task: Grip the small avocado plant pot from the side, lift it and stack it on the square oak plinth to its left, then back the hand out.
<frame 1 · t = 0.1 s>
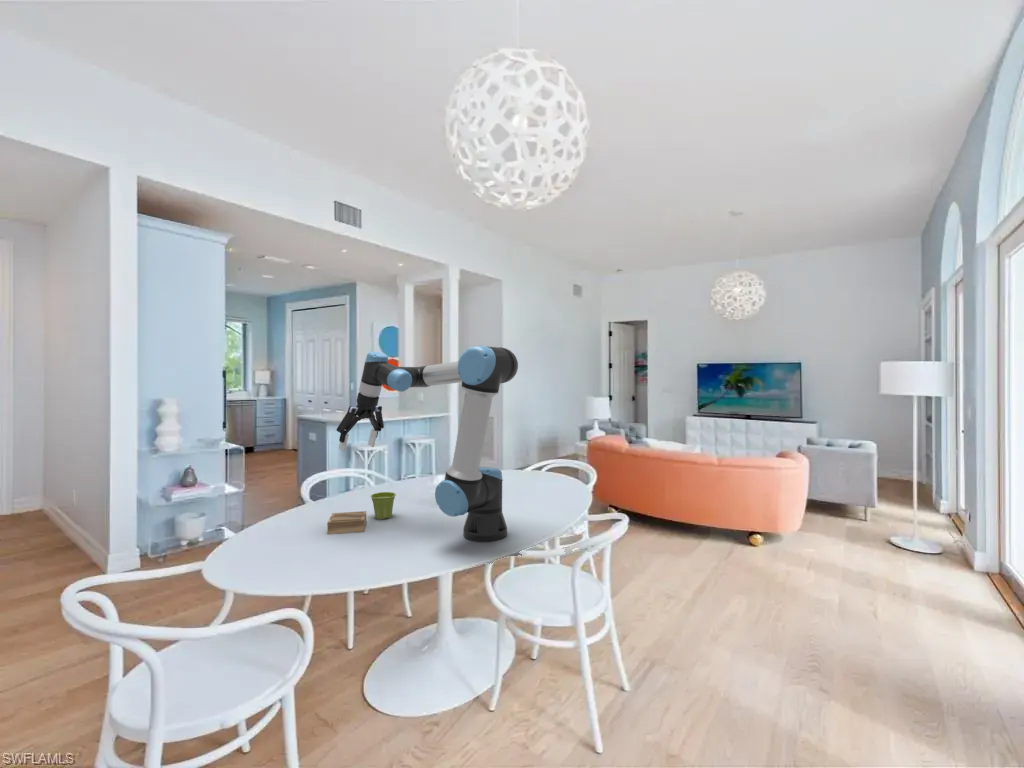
hand: (356, 447, 186), 28 cm above the table, tool tilted 20°, fingers open, 13 cm apart
oak plinth: (347, 527, 180), on the table
plant pot: (383, 517, 193), on the table
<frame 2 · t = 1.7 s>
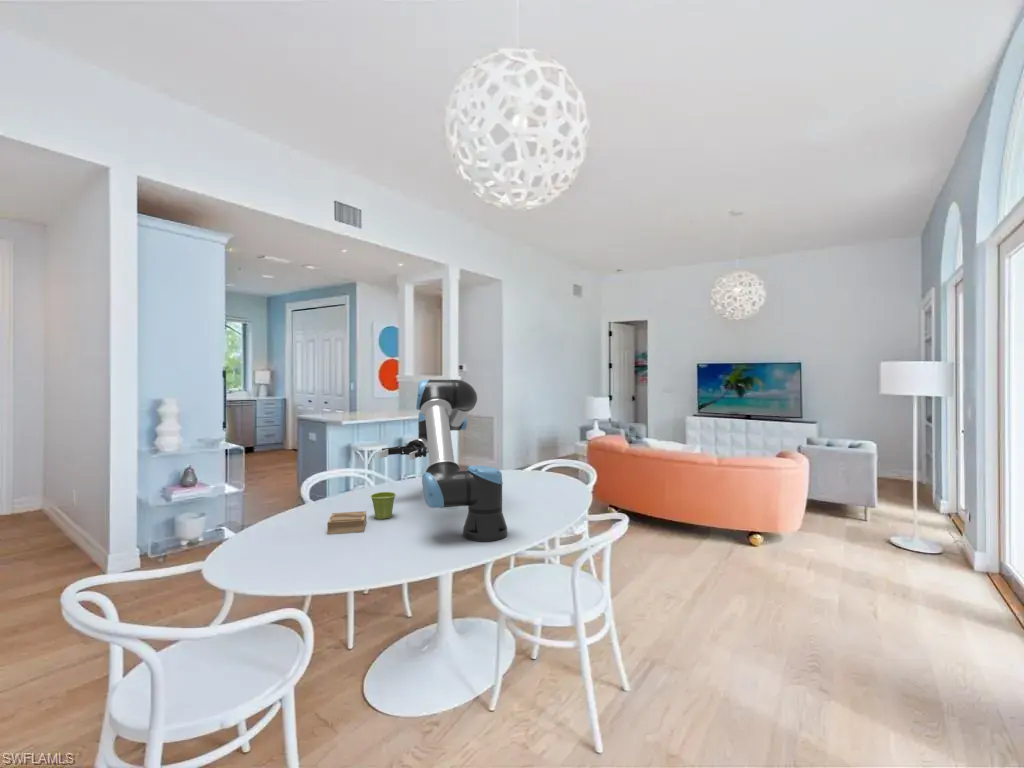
hand: (394, 455, 202), 22 cm above the table, tool horizontal, fingers open, 13 cm apart
nothing on the table moved.
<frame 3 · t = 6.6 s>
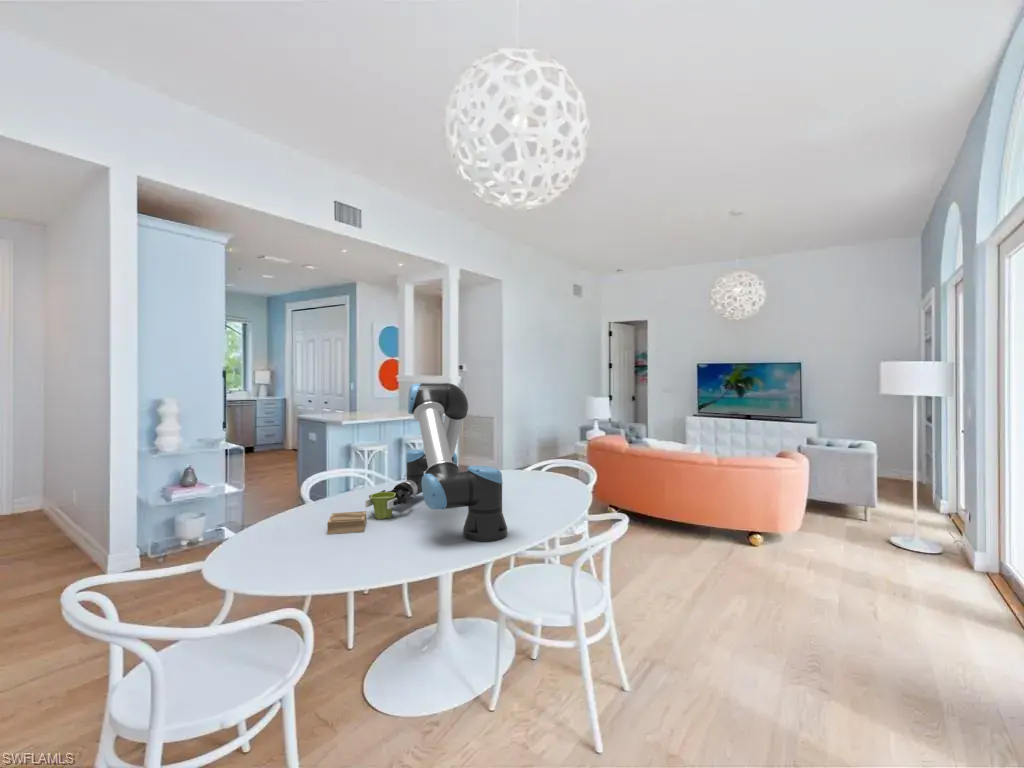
hand: (377, 504, 189), 6 cm above the table, tool horizontal, fingers closed on plant pot, 8 cm apart
plant pot: (383, 517, 193), on the table, touching gripper
when the fingers open (11 cm above the table, at t = 11.1 s): plant pot drops 1 cm, resting on oak plinth.
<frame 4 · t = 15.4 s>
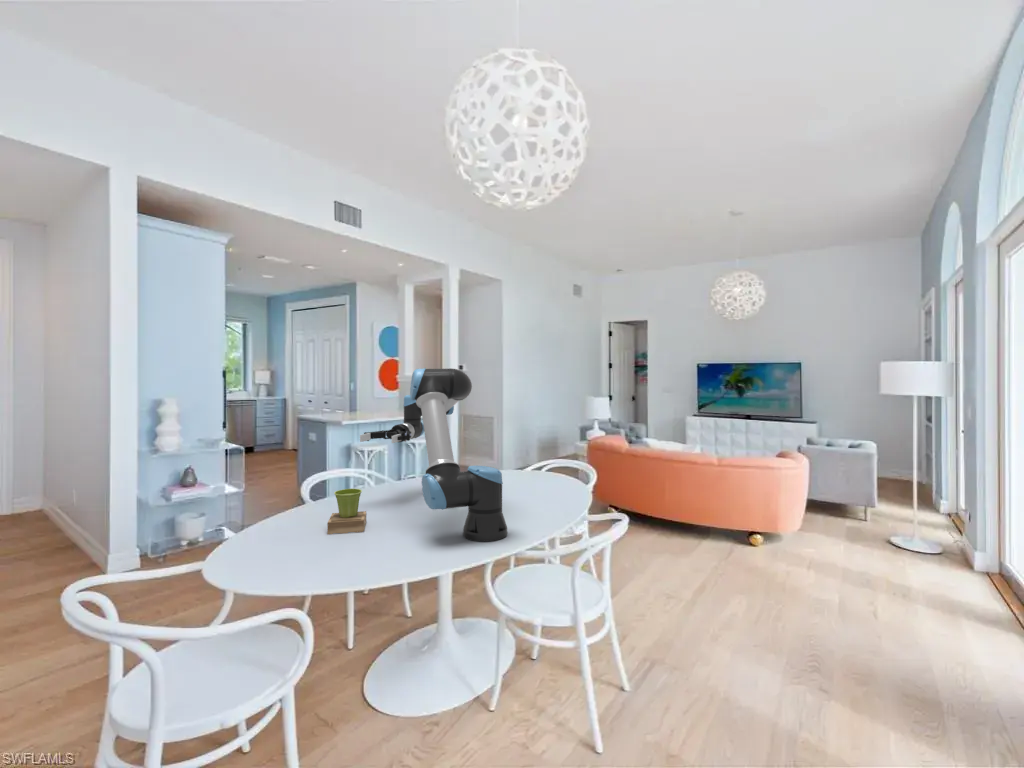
hand: (376, 438, 194), 30 cm above the table, tool horizontal, fingers open, 13 cm apart
plant pot: (348, 516, 180), point 4 cm above the table, touching oak plinth
at the end: plant pot 0.5 cm from the oak plinth (horizontally); plant pot touching oak plinth; plant pot tilted 0° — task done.
